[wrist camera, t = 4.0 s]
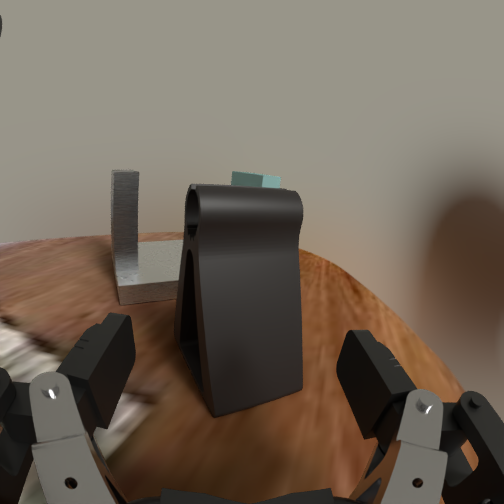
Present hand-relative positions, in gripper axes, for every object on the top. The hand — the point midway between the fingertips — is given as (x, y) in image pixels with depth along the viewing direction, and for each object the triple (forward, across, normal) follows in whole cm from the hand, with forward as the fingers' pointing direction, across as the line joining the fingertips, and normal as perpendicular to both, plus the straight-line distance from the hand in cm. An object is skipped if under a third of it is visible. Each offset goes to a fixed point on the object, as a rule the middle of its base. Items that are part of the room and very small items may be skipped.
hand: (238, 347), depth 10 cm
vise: (+25, +6, +7) cm, 26 cm away
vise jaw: (+29, -2, +5) cm, 29 cm away
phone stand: (+7, 0, +7) cm, 10 cm away
